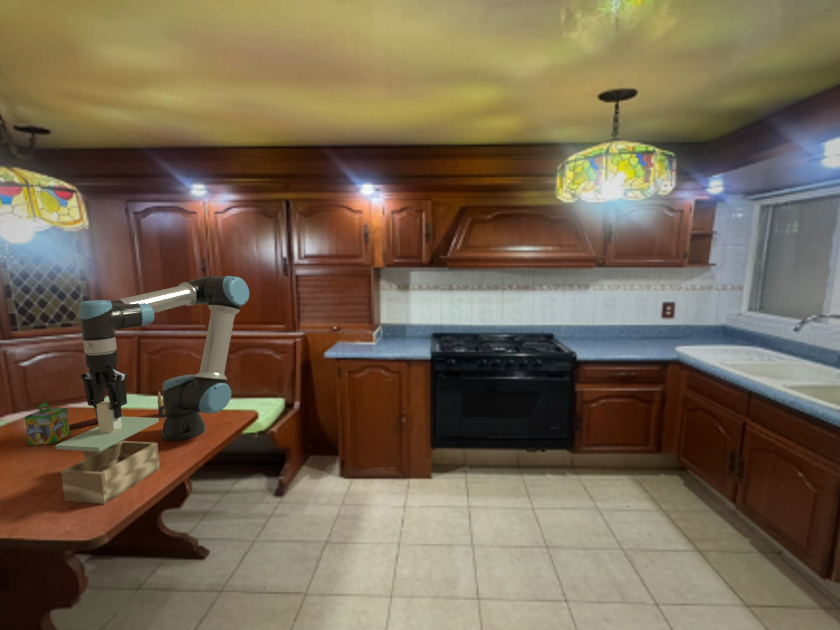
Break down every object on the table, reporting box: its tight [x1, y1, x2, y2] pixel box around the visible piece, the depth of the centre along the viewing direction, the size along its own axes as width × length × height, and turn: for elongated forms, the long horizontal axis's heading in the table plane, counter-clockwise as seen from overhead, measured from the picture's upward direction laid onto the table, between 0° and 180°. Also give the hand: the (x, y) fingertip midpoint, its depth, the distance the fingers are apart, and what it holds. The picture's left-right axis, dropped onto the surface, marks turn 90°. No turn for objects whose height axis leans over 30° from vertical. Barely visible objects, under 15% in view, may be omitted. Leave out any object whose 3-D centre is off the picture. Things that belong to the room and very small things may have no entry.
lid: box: [55, 399, 160, 452], centre depth 121 cm, size 21×14×11 cm, turn 172°
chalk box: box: [23, 401, 71, 447], centre depth 154 cm, size 9×9×15 cm
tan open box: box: [60, 440, 161, 505], centre depth 123 cm, size 20×22×10 cm
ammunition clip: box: [157, 391, 165, 419], centre depth 180 cm, size 11×2×12 cm, turn 131°
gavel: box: [69, 410, 125, 431], centre depth 170 cm, size 21×5×10 cm
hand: (110, 427), depth 121 cm, fingers closed on lid, 4 cm apart
